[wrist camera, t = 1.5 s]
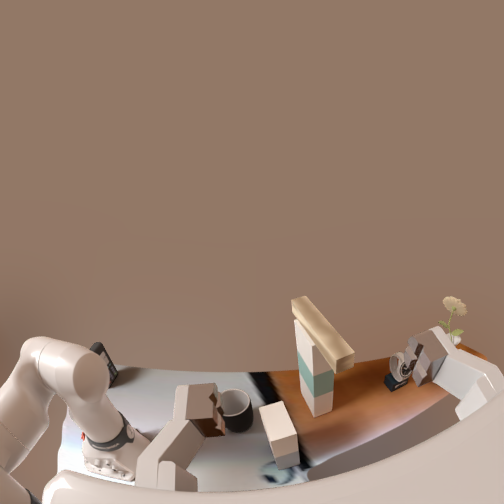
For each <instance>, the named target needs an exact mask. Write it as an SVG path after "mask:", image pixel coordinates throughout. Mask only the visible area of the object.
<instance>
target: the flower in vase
mask: <svg viewBox="0 0 504 504" xmlns="http://www.w3.org/2000/svg"><path fill="white" fill-rule="evenodd" d="M442 302H443V303H444V306H445V307H446V309H448V310H449V311H451V312H452V314H455V315H459V316H461V315H462V316H464V315H465V314H466V313H467V312H466V311H467V309H466V305H465V304H464V303H461V300H460V299H458V300H457V299H456V298H453V297H452V296H451V297H450V298H449V297H446V298H445V299H444V301H442ZM452 314H451V317H452ZM451 317H450V320H451ZM450 320H449V323H450ZM438 323H440V324H442V325H443V326H444V327H445V328H449V332H450V333H448V334H446V335H447V336H448V338H449V339H450V340H451V342H452V343H453V344H454V346H456V345H457V344H459V343H460V341H461V338H460V336H459V335H460V334H461V333H462V332H463V330H461V329H456V330H455V331H453V332H452V333H451V331H450V327H449V324H448V325H447V324H446V323H445V322H443V321H439V322H438ZM433 381H434V380H433ZM433 381H432V382H433ZM434 383H435V382H434Z"/></svg>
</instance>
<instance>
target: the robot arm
mask: <svg viewBox="0 0 504 504" xmlns="http://www.w3.org/2000/svg"><path fill="white" fill-rule="evenodd" d="M408 344H409V346H408V347H407V348H406V349H405V352H404V361H405V364H406V366H407V368H408V369H410V370H412V371H413V373H412V377H413V379H414V380H415V382H416V384H417V386H418V387H419V386H422V385H424V384H426V383H429V382H431V381H433V380H434V381H433V382H435V383H436V384H438V385H439V386H441V387H442V388H444V389H445V390H447V391H448V392H450V393H451V394H453V395H454V396H456V397H457V398H459V399H460V400H461V402H460V403H459V404H458V405H457V407H456V409H455V411H456V413H457V415H458V417H459V419H460V421H459V422H458V423H456V424H455V425H453V426H451V427H449V428H448V429H446V430H444V431H443V432H441V433H439V434H437V435H436V436H433V437H432V438H430V439H428V440H426V441H424V442H422V443H420V444H418V445H416V446H414V447H412V448H409V449H407V450H405V451H403V452H400V453H398V454H396V455H393V456H391V457H389V458H386V459H384V460H381V461H378V462H376V463H373V464H370V465H367V466H364V467H361V468H358V469H355V470H352V471H349V472H346V473H342V474H339V475H335V476H331V477H327V478H324V479H320V480H315V481H310V482H305V483H300V484H295V485H289V486H283V487H276V488H269V489H260V490H250V491H235V492H198V486H197V478H196V477H195V476H193V475H192V474H190V473H189V472H187V471H186V469H187V467H188V466H189V464H190V463H191V461H192V459H193V458H194V456H195V455H196V453H197V451H198V450H199V448H200V447H201V445H202V443H203V442H204V440H205V438H206V437H218V436H225V422H224V420H223V418H222V416H223V414H224V402H223V398H222V395H221V393H220V392H218V390H217V385H216V384H215V383H208V384H195V385H179V386H178V387H177V389H176V395H175V404H174V413H173V420H169V421H168V423H167V424H166V425H165V426H164V428H163V429H162V430H161V431H160V432H159V434H158V435H157V436H156V437H155V438H154V439H153V441H152V442H150V441H149V440H148V439H147V438H146V437H144V436H143V435H141V434H140V433H138V432H137V430H136V429H135V428H133V427H131V425H130V424H129V422H128V421H127V420H126V418H125V417H124V416H123V415H122V414H121V413H120V412H119V411H117V409H116V408H115V407H114V405H113V404H112V403H111V401H110V400H109V398H108V397H107V395H106V392H107V390H108V387H109V383H110V375H109V370H108V367H107V364H106V362H105V361H104V359H103V358H102V357H101V356H99V355H98V354H96V353H94V352H93V351H91V350H89V349H87V348H85V347H83V346H81V345H77V344H73V343H69V342H65V341H60V340H56V339H52V338H48V337H34V338H30V339H28V340H27V341H26V342H25V343H24V344H23V346H22V349H21V353H20V359H19V361H18V363H17V365H16V366H15V368H14V370H13V372H12V373H11V375H10V377H9V378H8V380H7V381H6V382H5V384H4V385H3V386H2V387H1V388H0V421H1V423H2V424H3V425H4V426H5V427H6V428H7V429H8V430H9V431H10V432H11V433H12V434H13V435H14V436H15V437H16V438H17V439H18V440H19V441H20V442H21V443H22V444H23V445H24V446H26V447H27V448H28V449H29V450H30V451H31V449H32V448H33V447H34V445H35V444H36V443H37V441H38V440H39V438H40V437H41V436H42V434H43V433H44V432H45V430H46V429H47V427H48V425H49V417H48V414H47V410H48V406H49V403H50V400H51V399H52V397H53V395H54V394H56V393H57V394H58V395H59V396H60V397H61V398H62V399H63V400H64V401H65V402H66V403H67V405H68V407H69V415H70V417H71V419H72V420H73V421H74V423H75V424H76V425H77V426H78V427H79V428H80V429H81V430H82V431H83V432H82V437H81V439H83V443H82V453H83V456H84V463H85V466H86V469H87V470H88V471H90V472H93V473H96V474H100V475H104V476H108V477H112V478H116V479H120V480H125V481H132V480H133V479H134V478H135V486H132V485H126V484H121V483H116V482H111V481H107V480H103V479H99V478H95V477H91V476H87V475H84V474H81V473H77V472H74V471H71V470H63V471H61V472H60V473H58V474H57V475H56V476H55V477H54V478H53V479H51V480H50V481H49V482H48V483H47V484H46V486H45V488H44V491H43V497H42V503H41V502H40V501H39V500H38V499H37V498H36V497H35V496H34V495H33V494H32V493H31V492H30V491H29V490H27V489H24V488H23V487H22V486H21V485H20V484H19V483H18V482H17V481H16V480H15V479H14V478H13V477H11V476H10V475H9V473H11V472H12V471H13V470H14V469H15V468H16V467H17V466H18V465H19V464H20V463H21V462H22V461H23V460H24V459H25V458H26V456H27V455H28V454H29V452H30V451H29V450H28V449H27V448H25V447H24V446H23V445H22V444H21V443H20V442H19V441H18V440H17V439H16V438H15V437H14V436H13V435H12V434H11V433H10V432H9V431H8V430H7V429H6V428H5V427H4V426H3V425H2V424H1V423H0V504H504V376H503V375H502V373H501V372H500V370H499V369H498V367H497V366H496V365H494V364H491V363H489V362H487V361H485V360H483V359H481V358H478V357H476V356H474V355H472V354H470V353H467V352H465V351H463V350H461V349H459V350H457V349H456V347H455V346H454V344H453V343H452V342H451V340H450V339H449V338H448V336H447V335H446V334H445V333H444V331H443V330H442V329H441V327H439V326H436V327H434V328H431V329H429V330H426V331H423V332H421V333H419V334H416V335H414V336H411V337H410V338H409V340H408ZM124 476H125V477H124ZM135 476H136V477H135Z"/></svg>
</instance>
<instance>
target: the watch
mask: <svg viewBox="0 0 504 504" xmlns="http://www.w3.org/2000/svg"><path fill="white" fill-rule="evenodd" d="M396 357H397V358H398V359H399V361H398V365H397V358H396ZM389 363H390V371H391V372H392V373H390V374H388V375H386V376H385V380H384V383H385V385H386V386H387V387H388V389H389V390H390V391H391V392H393V391H395V390H397V389H398V388H400V387H402V386H404V385H406V384H407V382H408V379H409V376H410V375H411V373H412V370H410V369H408V368H407V366H406V364H405V361H404V353H402V352H397V353H395V354H393V355H391V357H390V360H389Z"/></svg>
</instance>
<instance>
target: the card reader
mask: <svg viewBox="0 0 504 504" xmlns="http://www.w3.org/2000/svg"><path fill="white" fill-rule="evenodd" d="M89 350H91V351H93V352H94V353H96V354H98V355H99V356H101V357H102V358H103V359H104V361H105V362H106V364H107V367H108V370H109V375H110V383H109V387H110V385H111V383H112V382H113V380H114V379H115V377H116V376H117V373H118V372H117V370H116V368H115V366H114V364H113V363H112V361H111V359H110V357H109V355H108V354H107V352H106V350H105V348H104V346H103V344H102V343H100V342H96V343H94V344H93V346H92V347H91V348H90V349H89Z"/></svg>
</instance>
